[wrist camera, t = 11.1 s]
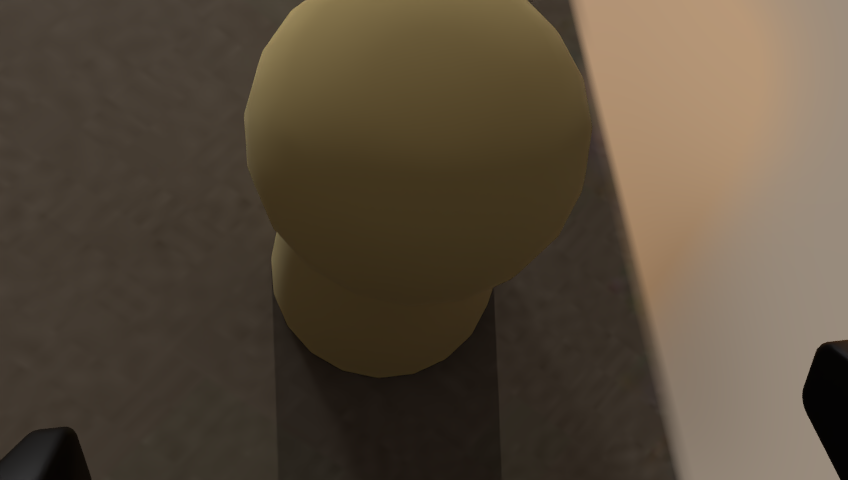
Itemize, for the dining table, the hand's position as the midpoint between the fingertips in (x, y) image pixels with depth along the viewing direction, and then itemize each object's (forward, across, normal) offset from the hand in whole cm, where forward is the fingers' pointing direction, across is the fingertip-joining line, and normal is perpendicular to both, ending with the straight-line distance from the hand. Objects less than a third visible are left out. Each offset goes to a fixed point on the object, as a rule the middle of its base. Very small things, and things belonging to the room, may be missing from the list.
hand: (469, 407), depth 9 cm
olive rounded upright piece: (+11, 0, +5) cm, 12 cm away
